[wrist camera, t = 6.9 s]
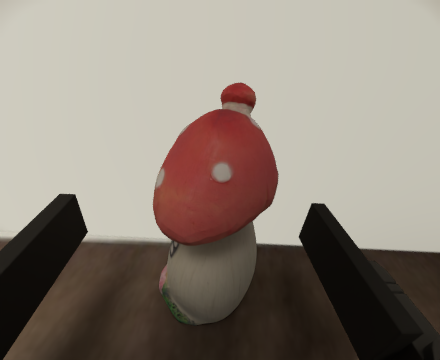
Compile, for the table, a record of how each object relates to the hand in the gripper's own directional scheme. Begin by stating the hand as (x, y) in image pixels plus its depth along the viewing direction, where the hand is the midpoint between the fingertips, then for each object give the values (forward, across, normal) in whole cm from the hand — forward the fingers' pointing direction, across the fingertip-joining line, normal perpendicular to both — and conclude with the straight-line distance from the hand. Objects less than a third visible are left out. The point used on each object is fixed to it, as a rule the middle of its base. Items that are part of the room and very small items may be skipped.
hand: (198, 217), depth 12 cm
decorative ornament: (+1, +1, -8) cm, 8 cm away
